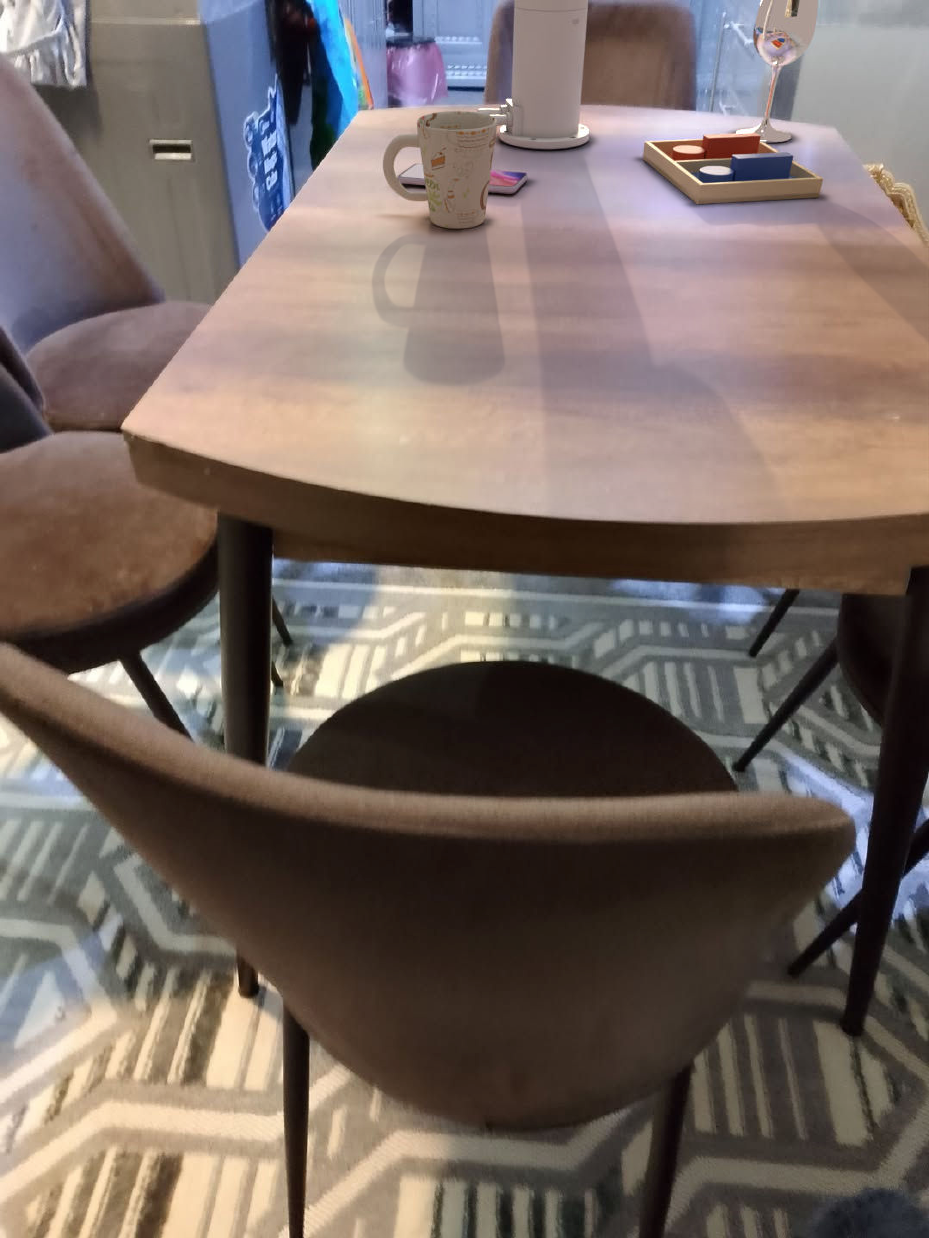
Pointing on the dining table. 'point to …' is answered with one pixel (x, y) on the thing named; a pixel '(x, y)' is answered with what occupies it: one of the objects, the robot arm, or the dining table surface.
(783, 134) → the wineglass
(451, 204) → the mug
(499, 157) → the dining table surface
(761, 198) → the tray
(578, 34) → the robot arm
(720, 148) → the rust-red brick
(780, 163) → the blue foam brick
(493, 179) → the smartphone
